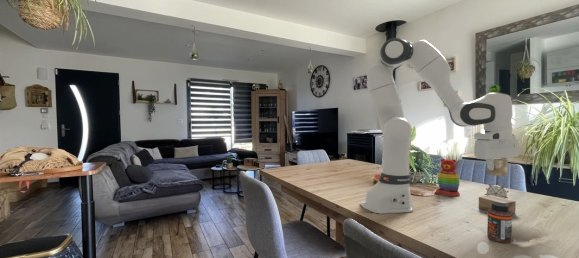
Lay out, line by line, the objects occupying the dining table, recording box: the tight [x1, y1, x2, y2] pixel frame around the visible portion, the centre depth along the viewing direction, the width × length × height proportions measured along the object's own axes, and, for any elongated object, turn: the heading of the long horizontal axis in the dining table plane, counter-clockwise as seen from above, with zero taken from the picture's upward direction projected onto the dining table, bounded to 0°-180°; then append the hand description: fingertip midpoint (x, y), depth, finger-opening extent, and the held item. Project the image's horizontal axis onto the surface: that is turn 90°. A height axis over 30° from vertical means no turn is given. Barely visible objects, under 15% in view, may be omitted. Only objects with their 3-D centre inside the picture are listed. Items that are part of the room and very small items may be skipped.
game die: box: [484, 183, 509, 199], centre depth 119 cm, size 9×8×10 cm
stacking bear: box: [434, 158, 461, 198], centre depth 132 cm, size 11×10×18 cm
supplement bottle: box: [486, 202, 513, 244], centre depth 82 cm, size 6×6×11 cm
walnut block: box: [478, 195, 517, 215], centre depth 103 cm, size 7×9×5 cm
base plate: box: [470, 206, 524, 218], centre depth 103 cm, size 12×12×1 cm
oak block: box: [486, 158, 509, 177], centre depth 102 cm, size 4×4×6 cm
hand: (497, 169), depth 102 cm, fingers closed on oak block, 4 cm apart
